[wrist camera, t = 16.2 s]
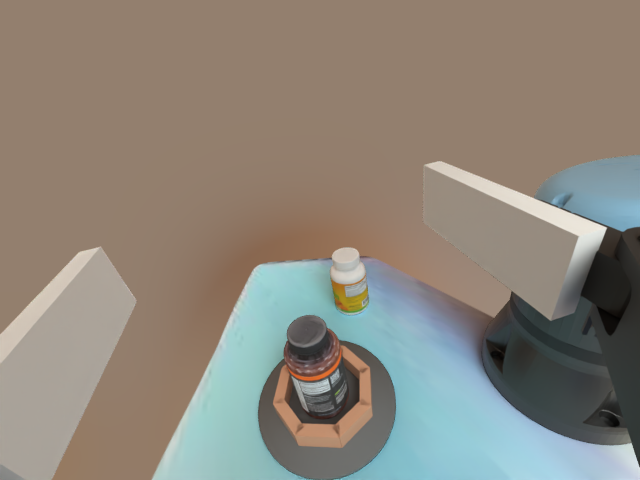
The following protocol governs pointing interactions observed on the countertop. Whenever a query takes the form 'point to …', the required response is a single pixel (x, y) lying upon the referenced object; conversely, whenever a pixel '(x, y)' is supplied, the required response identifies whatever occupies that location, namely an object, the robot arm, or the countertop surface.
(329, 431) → the collar
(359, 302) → the supplement bottle
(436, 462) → the countertop surface
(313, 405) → the supplement bottle
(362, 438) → the mat
